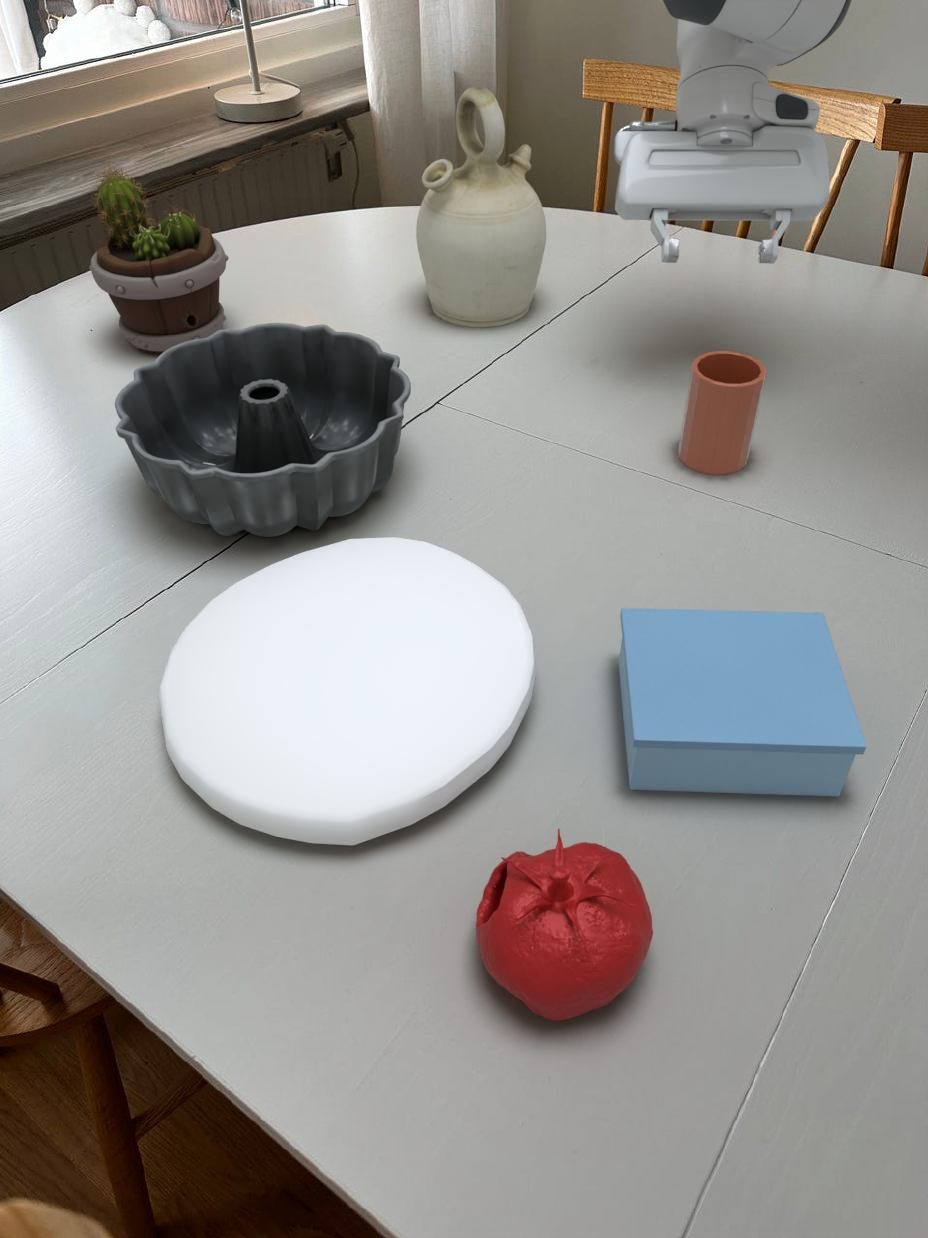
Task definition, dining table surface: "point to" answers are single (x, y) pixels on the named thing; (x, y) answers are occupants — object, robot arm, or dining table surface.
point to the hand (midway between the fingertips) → (718, 260)
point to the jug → (480, 225)
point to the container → (735, 703)
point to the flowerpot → (156, 269)
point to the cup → (721, 412)
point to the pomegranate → (564, 928)
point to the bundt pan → (266, 426)
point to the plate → (347, 689)
